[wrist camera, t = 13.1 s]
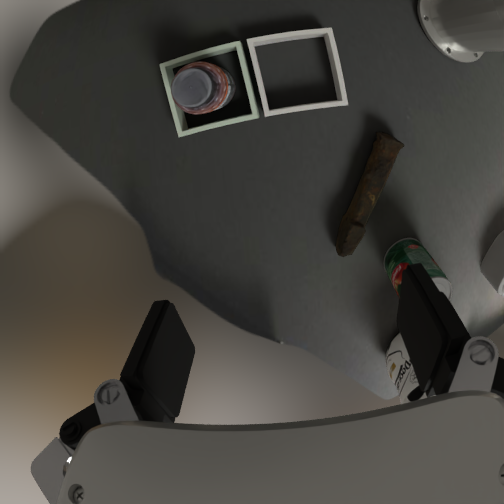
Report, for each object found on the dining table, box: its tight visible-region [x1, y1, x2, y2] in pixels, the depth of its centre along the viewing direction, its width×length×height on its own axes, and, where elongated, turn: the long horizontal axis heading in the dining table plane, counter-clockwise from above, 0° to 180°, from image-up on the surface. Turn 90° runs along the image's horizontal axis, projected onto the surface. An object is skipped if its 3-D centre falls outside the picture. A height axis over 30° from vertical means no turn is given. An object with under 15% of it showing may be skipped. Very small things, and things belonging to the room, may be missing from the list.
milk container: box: [386, 332, 436, 404], centre depth 46 cm, size 17×17×18 cm
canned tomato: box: [383, 238, 453, 301], centre depth 39 cm, size 8×8×11 cm
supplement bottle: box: [171, 62, 235, 114], centre depth 28 cm, size 6×6×11 cm
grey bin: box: [247, 28, 348, 117], centre depth 30 cm, size 10×10×3 cm
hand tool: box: [336, 132, 404, 257], centre depth 37 cm, size 19×4×5 cm, turn 161°
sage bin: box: [159, 41, 259, 137], centre depth 32 cm, size 10×10×3 cm
